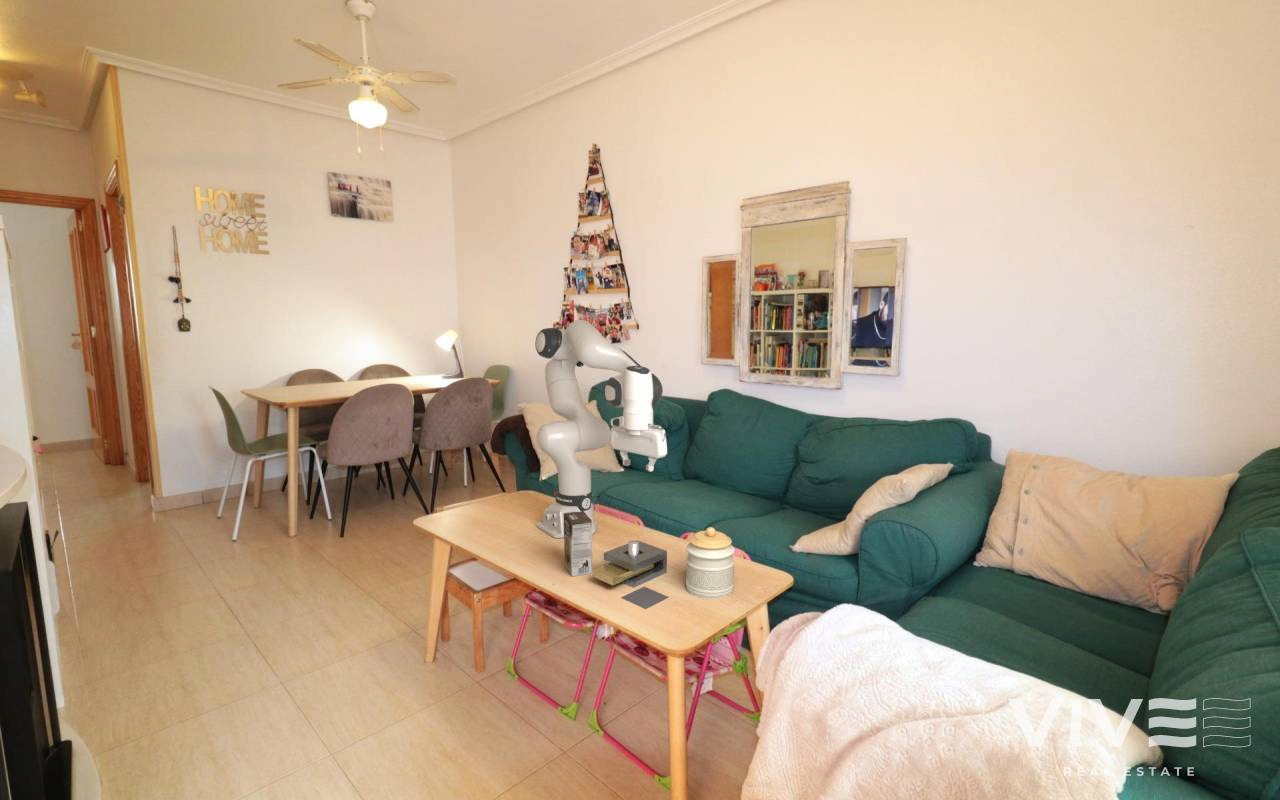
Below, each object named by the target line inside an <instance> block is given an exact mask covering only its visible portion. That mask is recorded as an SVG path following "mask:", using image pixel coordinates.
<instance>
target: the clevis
mask: <svg viewBox="0 0 1280 800" xmlns="http://www.w3.org/2000/svg"><path fill="white" fill-rule="evenodd" d="M635 541H638V542H639V555H638V556H635V557H632V556H630V555H628V543H626V544H623V545H621V546H617V547H615V548H613V549H610V550H607V551H605V552H603V560H604V561H606V562H608V563H606V564H604V565H600V566H598V567H596V568H592V577H593V578H595V579H597V580H600V581H601V582H604V583H607V584H608V585H611V586H615V585H617V584H620V583H622V584H625V585H627V586H629V587H630V588H633V589H635V588H636V587H639V586H642V585H643V584H645V583H648V582H650V581H651V580H654V579H656V578H658V577H660V576H662V575H665V574H667V573H668V551H667V550H666V549H663V548H659V547H658V546H654V545H652V544H649V543H646V542H643V541H641V540H637V539H636V540H635Z"/></svg>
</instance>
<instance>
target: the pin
mask: <svg viewBox="0 0 1280 800" xmlns="http://www.w3.org/2000/svg"><path fill="white" fill-rule="evenodd" d="M638 541H639V540H638ZM638 541H636V540H629V541H628V542H627V544H628V555H630V556H632V557H635V556H638V555H639V542H638Z"/></svg>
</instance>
